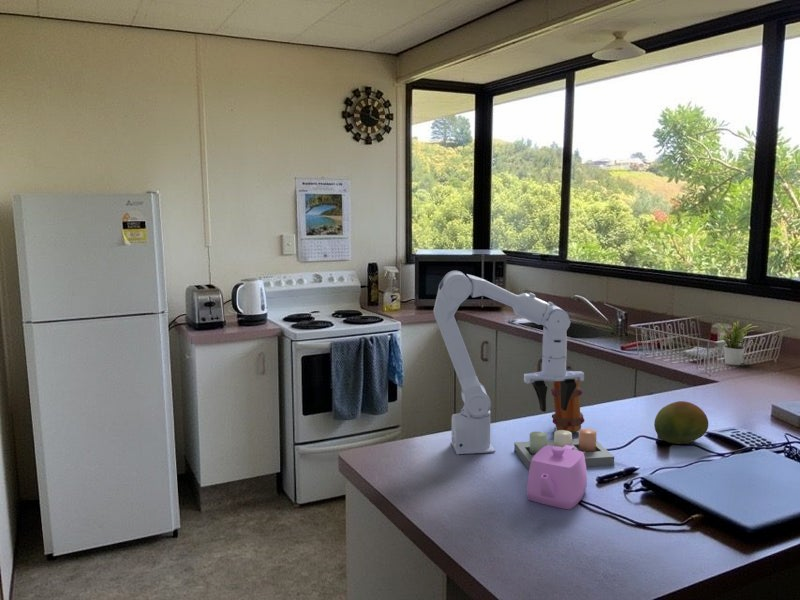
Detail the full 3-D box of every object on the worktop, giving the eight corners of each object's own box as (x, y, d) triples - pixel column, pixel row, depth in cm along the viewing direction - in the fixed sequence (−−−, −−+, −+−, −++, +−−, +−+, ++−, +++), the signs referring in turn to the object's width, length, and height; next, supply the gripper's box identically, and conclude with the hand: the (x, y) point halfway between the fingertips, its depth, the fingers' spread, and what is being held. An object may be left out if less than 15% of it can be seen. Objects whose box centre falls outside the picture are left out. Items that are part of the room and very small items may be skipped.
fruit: (712, 440, 161) (714, 402, 159) (694, 455, 152) (697, 415, 150) (665, 430, 168) (667, 393, 167) (646, 443, 159) (647, 405, 158)
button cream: (557, 454, 149) (557, 436, 149) (551, 447, 153) (552, 430, 153) (574, 453, 150) (574, 435, 149) (567, 446, 154) (568, 429, 153)
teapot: (568, 520, 122) (569, 469, 120) (516, 507, 127) (516, 459, 126) (594, 485, 137) (595, 439, 135) (546, 474, 143) (547, 430, 141)
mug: (586, 435, 162) (583, 376, 162) (554, 436, 164) (550, 377, 163) (580, 421, 177) (577, 367, 176) (550, 422, 178) (547, 369, 178)
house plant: (766, 368, 227) (769, 323, 224) (727, 369, 227) (729, 324, 225) (745, 359, 241) (748, 316, 239) (708, 359, 241) (710, 317, 239)
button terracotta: (582, 452, 150) (582, 435, 149) (575, 446, 154) (576, 429, 153) (598, 451, 150) (599, 434, 150) (591, 445, 154) (592, 428, 154)
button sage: (532, 455, 149) (532, 438, 148) (527, 449, 153) (527, 431, 152) (549, 454, 149) (549, 437, 149) (543, 448, 153) (543, 431, 152)
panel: (529, 470, 145) (529, 461, 145) (514, 450, 157) (514, 442, 156) (614, 464, 147) (614, 456, 147) (593, 445, 159) (593, 437, 158)
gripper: (530, 361, 151) (529, 416, 153) (589, 358, 152) (588, 413, 154) (521, 354, 158) (520, 407, 160) (578, 351, 159) (577, 404, 161)
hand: (553, 409), depth 157 cm, fingers open, 5 cm apart
